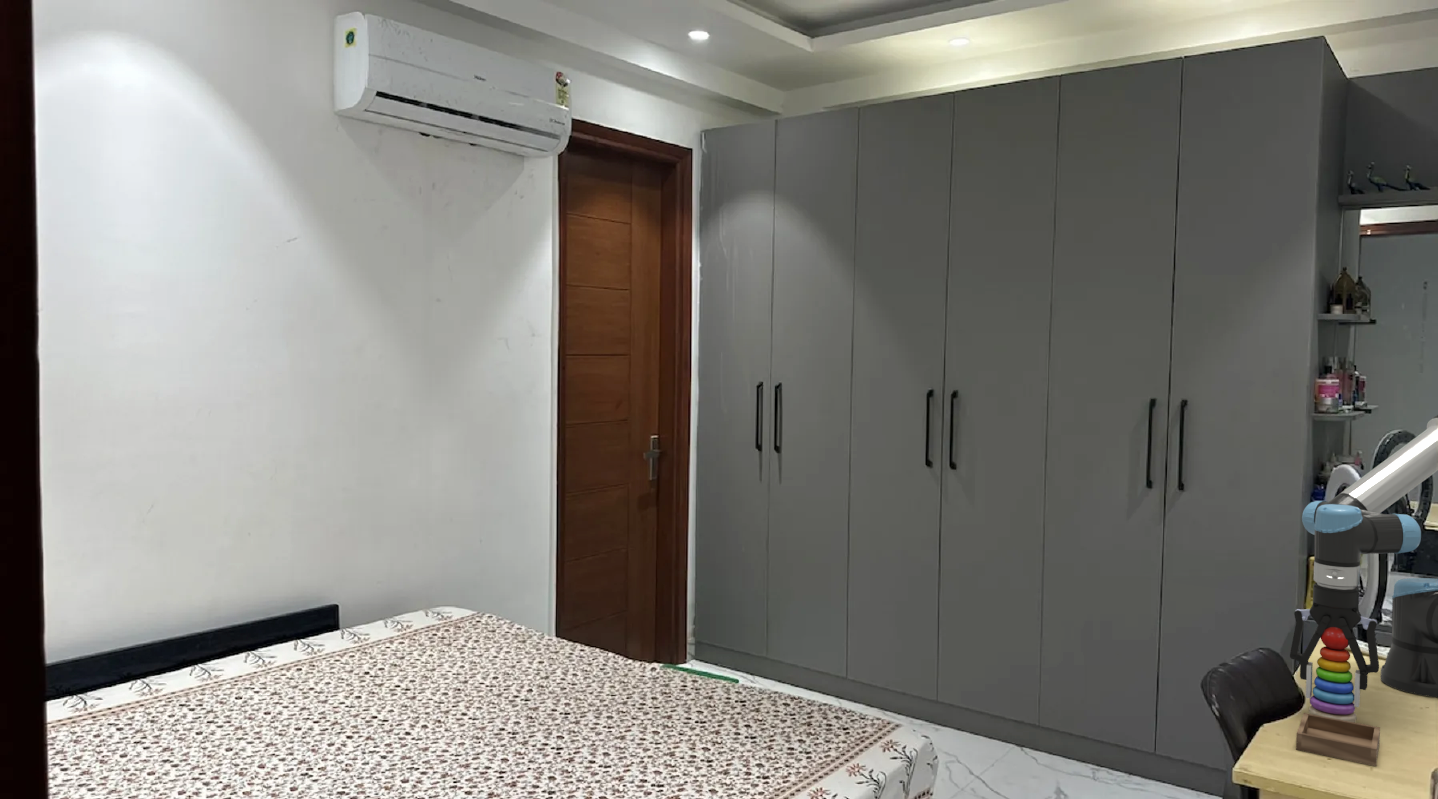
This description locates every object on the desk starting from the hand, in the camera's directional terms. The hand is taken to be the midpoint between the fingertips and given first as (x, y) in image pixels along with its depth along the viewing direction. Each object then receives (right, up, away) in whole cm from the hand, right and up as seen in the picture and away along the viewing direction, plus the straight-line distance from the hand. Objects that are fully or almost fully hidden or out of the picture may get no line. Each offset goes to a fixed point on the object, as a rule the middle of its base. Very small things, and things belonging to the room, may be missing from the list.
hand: (1332, 700), depth 190 cm
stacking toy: (0, -4, 0) cm, 4 cm away
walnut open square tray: (-7, -4, -13) cm, 15 cm away
